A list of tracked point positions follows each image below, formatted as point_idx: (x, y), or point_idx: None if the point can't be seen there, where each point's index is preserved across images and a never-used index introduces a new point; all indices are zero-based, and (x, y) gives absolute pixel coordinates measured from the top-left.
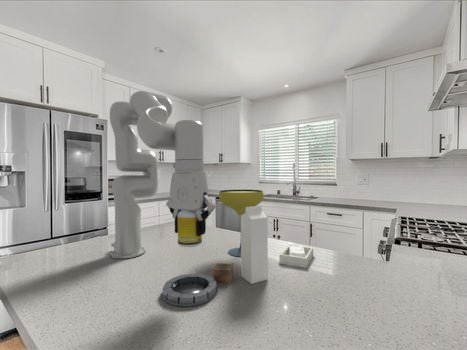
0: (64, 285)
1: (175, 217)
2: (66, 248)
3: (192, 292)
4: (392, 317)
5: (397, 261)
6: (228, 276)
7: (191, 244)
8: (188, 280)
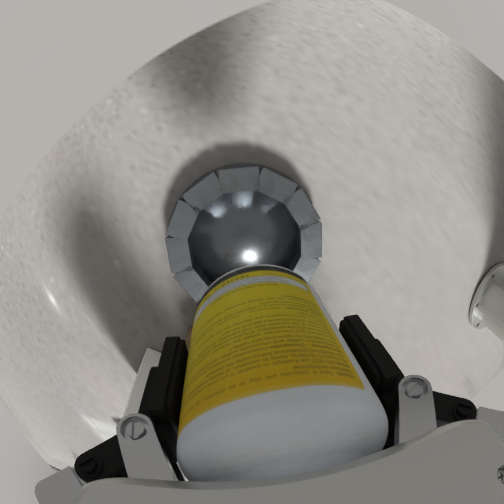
0: (487, 129)
1: (398, 384)
2: None
3: (230, 236)
4: None
5: (66, 453)
6: (190, 338)
7: (207, 291)
8: None
